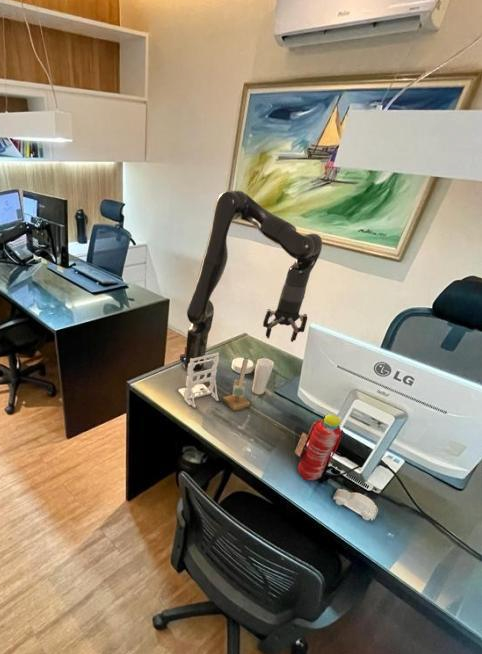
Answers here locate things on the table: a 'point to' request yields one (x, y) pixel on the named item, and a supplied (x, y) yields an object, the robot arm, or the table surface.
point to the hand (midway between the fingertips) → (279, 339)
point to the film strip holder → (196, 390)
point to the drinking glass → (262, 375)
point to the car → (357, 503)
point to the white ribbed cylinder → (238, 365)
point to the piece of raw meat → (318, 447)
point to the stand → (236, 399)
